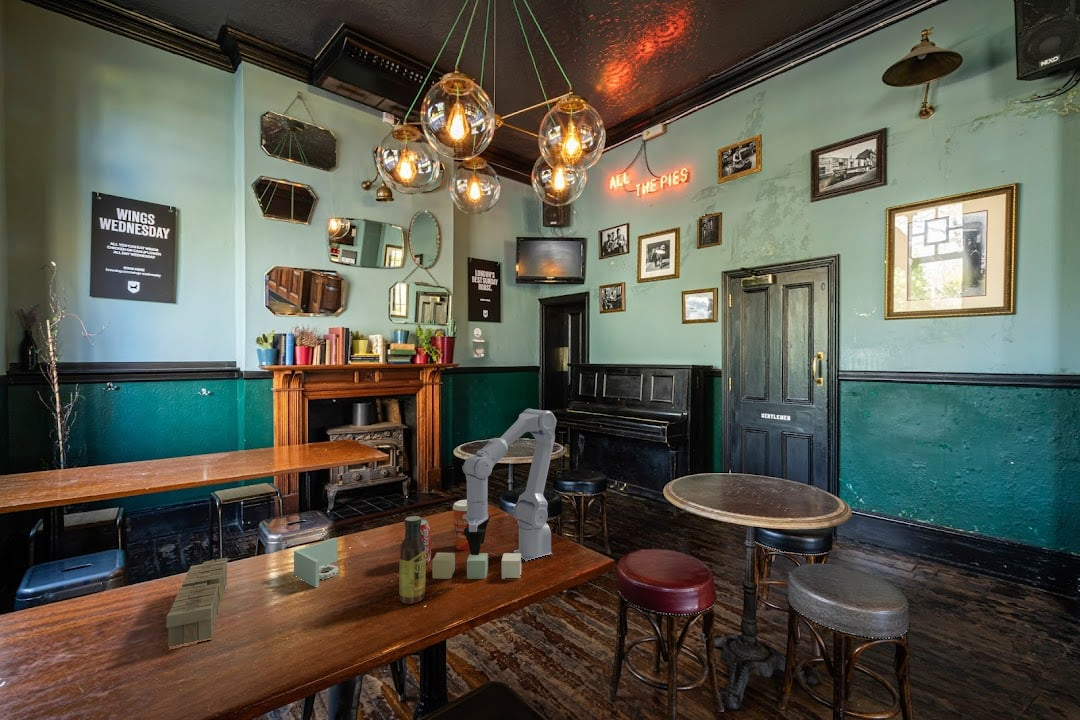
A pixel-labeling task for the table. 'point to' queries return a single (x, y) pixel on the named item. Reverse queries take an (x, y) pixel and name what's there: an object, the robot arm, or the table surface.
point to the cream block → (511, 565)
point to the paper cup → (460, 524)
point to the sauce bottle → (412, 563)
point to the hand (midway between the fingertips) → (477, 548)
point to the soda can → (426, 537)
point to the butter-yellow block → (443, 565)
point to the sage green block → (477, 566)
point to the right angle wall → (316, 562)
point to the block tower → (197, 603)
